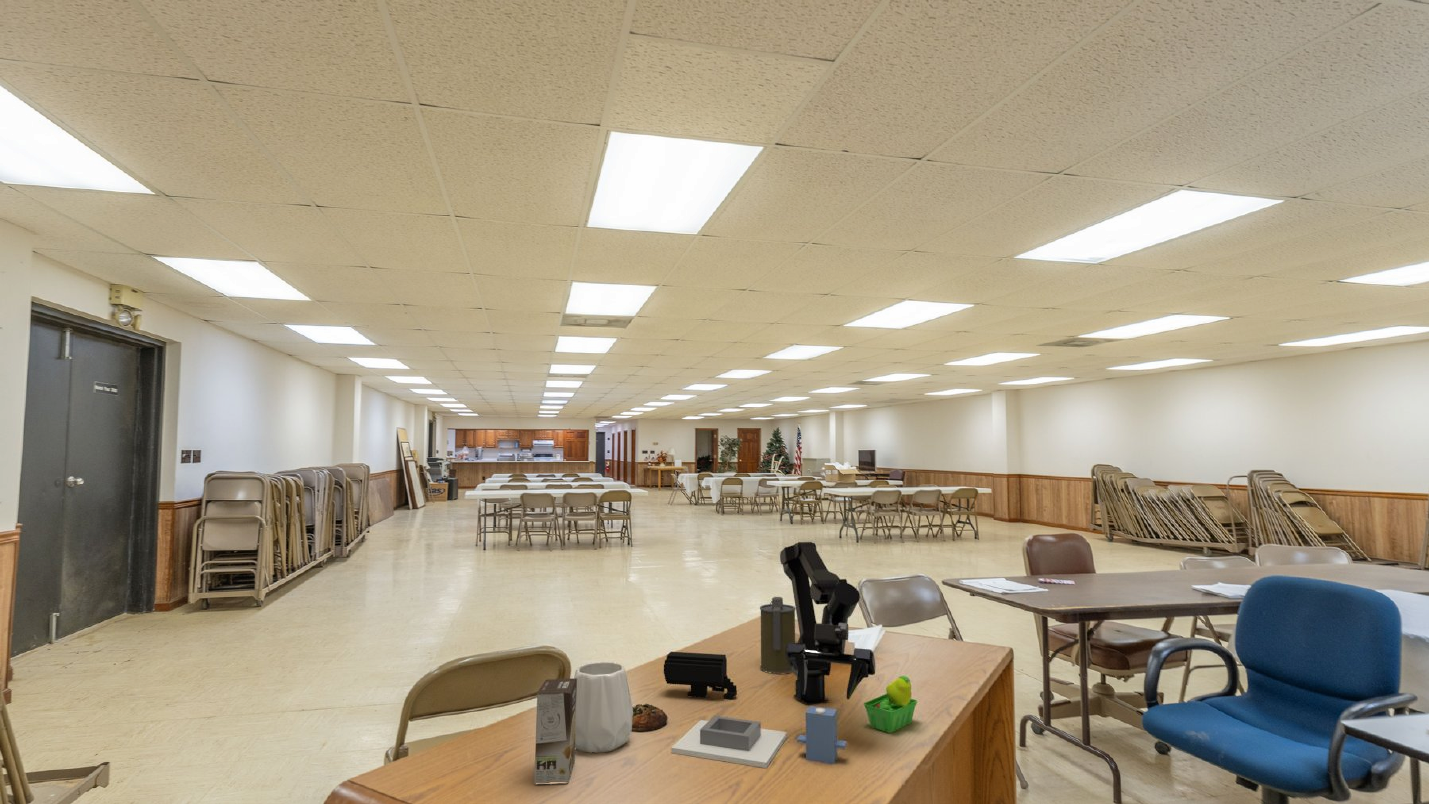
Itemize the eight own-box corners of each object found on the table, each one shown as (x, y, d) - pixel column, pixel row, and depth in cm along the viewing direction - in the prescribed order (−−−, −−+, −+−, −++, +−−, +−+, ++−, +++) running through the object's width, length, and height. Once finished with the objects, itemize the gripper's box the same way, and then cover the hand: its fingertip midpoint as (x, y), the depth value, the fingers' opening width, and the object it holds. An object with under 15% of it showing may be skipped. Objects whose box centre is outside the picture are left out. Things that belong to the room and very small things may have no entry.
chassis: (671, 752, 133) (671, 732, 134) (700, 724, 148) (700, 706, 149) (766, 768, 126) (766, 747, 127) (787, 737, 141) (786, 718, 142)
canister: (761, 663, 196) (760, 594, 199) (796, 664, 195) (795, 595, 197) (758, 673, 186) (758, 601, 188) (795, 675, 184) (795, 602, 186)
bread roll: (668, 731, 144) (665, 707, 145) (617, 740, 143) (614, 716, 144) (668, 715, 155) (665, 693, 156) (621, 723, 154) (619, 700, 155)
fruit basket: (889, 714, 155) (888, 664, 156) (924, 724, 149) (922, 672, 150) (862, 727, 147) (861, 674, 148) (898, 738, 141) (896, 683, 142)
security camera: (733, 703, 162) (733, 661, 163) (661, 697, 166) (662, 656, 167) (738, 693, 169) (738, 653, 170) (669, 689, 173) (669, 649, 174)
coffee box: (569, 784, 120) (571, 692, 121) (533, 785, 119) (536, 693, 121) (575, 762, 129) (577, 677, 131) (542, 763, 128) (544, 678, 130)
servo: (796, 758, 131) (795, 708, 132) (800, 750, 134) (800, 701, 136) (844, 765, 127) (843, 714, 128) (847, 757, 131) (846, 707, 132)
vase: (602, 762, 129) (603, 682, 130) (550, 747, 136) (552, 670, 138) (646, 738, 141) (647, 664, 142) (596, 725, 148) (597, 655, 150)
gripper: (786, 604, 146) (773, 670, 134) (872, 610, 139) (866, 679, 128) (795, 633, 152) (783, 698, 141) (877, 640, 146) (872, 708, 134)
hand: (825, 695), depth 136 cm, fingers open, 9 cm apart
